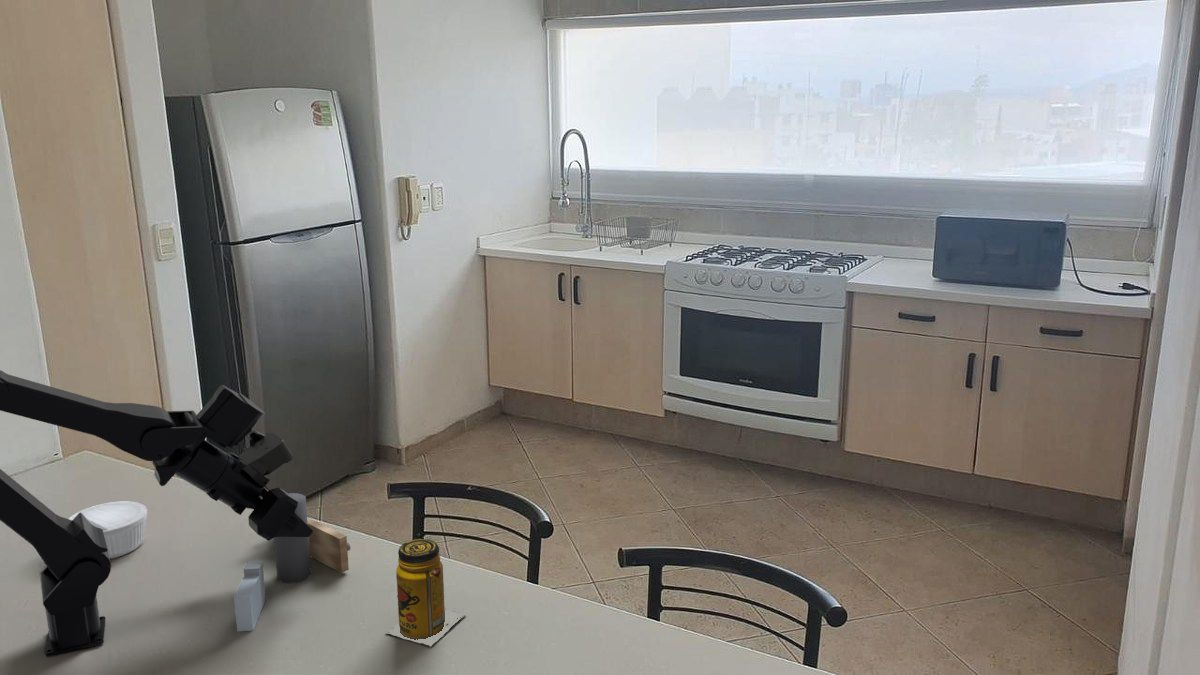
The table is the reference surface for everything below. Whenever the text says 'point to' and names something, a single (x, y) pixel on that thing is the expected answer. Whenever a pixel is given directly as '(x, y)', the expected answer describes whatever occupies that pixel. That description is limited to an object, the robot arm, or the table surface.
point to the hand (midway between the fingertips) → (298, 522)
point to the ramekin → (118, 525)
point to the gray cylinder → (293, 550)
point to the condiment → (420, 589)
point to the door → (328, 546)
